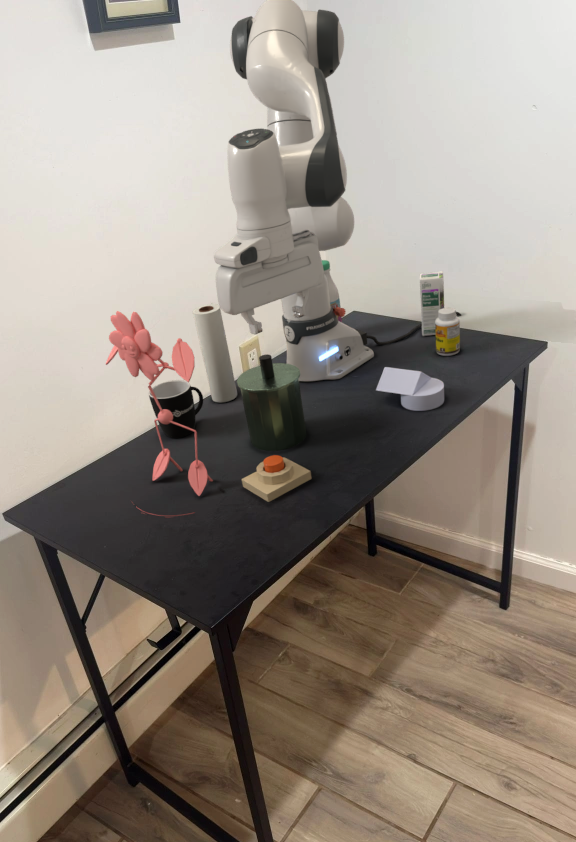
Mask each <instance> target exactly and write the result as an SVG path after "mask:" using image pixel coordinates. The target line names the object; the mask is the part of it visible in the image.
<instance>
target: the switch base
mask: <svg viewBox="0 0 576 842" xmlns="http://www.w3.org/2000/svg"><path fill="white" fill-rule="evenodd" d="M282 458H283V461H284V469H283V470H281V471H279V472H275V473H267V472H266V471H265V468H264V463H263V461H261V462H260V463H259V464H258V465H257V466H256V469H255V470H256V471H254V472H252V473H251V474H249V475H247V476H245V477H243V478H241V484H242V488H244V489H246V490H248V491H250V492H251V493H252V494H254V495H256V496H257V497H259V498H261V499H263V500H264V501H266V502H267V503H270V502H272V501H273V500H275V499H277V498H279V497H281V496H283V495H284V494H286V493H289V492H290V491H292V490H293V489H295V488H297V487H299V486H301V485H303V484H305V483H306V482H308V481H310V480H312V479H313V478H312V472H311V470H309V469H308V468H306V467H304V466H302V465H300V464H298V463H297V462H294V461H292V460H290V459H289V458H286V457H282Z"/></svg>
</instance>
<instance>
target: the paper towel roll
mask: <svg viewBox="0 0 576 842" xmlns="http://www.w3.org/2000/svg"><path fill="white" fill-rule="evenodd" d="M192 314H193V318H194V324H195V328H196V333H197V338H198V341H199V347H200V352H201V356H202V360H203V364H204V369H205V374H206V376H207V377H206V378H207V382H208V387H209V391H210V396H211V400H212V401H213V402H215V403H226V402H230V401H232V400H234V399H235V398H237V397H238V391H237V386H236V385H237V384H236V381H235V376H234V375H235V374H234V370H233V366H232V361H231V355H230V350H229V346H228V345H229V344H228V340H227V335H226V329H225V325H224V320H223V315H222V309H221V308H220V306H219V304H217V303H215V302H212V301H210V304H205V305H201V306H198V307H196V308H194V309H193V311H192Z"/></svg>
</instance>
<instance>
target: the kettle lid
mask: <svg viewBox="0 0 576 842" xmlns="http://www.w3.org/2000/svg"><path fill="white" fill-rule="evenodd" d="M258 362H259V365H257V366H254V367H251V368H249V369H247V370H245V371H244V372H242V373H241V374H240V375H239V376H238V377H237V380H236V385H237V387H238V388H239V389H240V388H241V389H242V390H245V391H248V392H270V391H275V390H279V389H282V388H285V387H288V386H290V385H292V384H293V383H295V382H296V381H297V380H298V379H299V377H300V370H299V369H298V368H297V367H296V366H294V365H291V364H286V363H285V362H283V363H282V362H273V358H272V355H271V354H262V355H260V356H259V357H258ZM241 389H240V390H241Z"/></svg>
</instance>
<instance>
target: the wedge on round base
mask: <svg viewBox="0 0 576 842" xmlns="http://www.w3.org/2000/svg"><path fill="white" fill-rule="evenodd" d="M375 391H377V392H385V393H391V394H392V393H393V394H398V395H400V404H401V406H402V407H403V408H404V409H405V410H409V411H415V412H424V411H430V410H434V409H437V408H439V407H441V406H442V405H443V404H444V403H445V383H444V382H443V381H442V380H441V379H438V378H436V377H431V376H430V375H428V374H426V373H424V372H423V371H421V370H420V371H419V370H412V369H405V368H397V367H389V366H384V368H383V371H382V374H381V376H380V377H379V381H378V383H377V385H376V388H375Z"/></svg>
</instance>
